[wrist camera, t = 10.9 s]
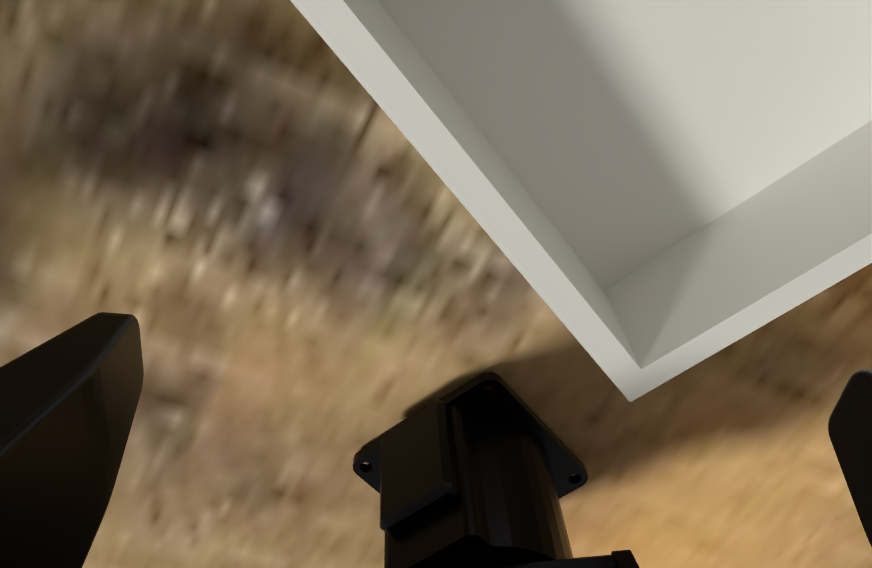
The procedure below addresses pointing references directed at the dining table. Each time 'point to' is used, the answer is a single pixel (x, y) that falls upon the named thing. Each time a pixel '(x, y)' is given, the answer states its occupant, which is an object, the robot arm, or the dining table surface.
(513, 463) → the robot arm
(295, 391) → the dining table surface
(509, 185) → the open box
